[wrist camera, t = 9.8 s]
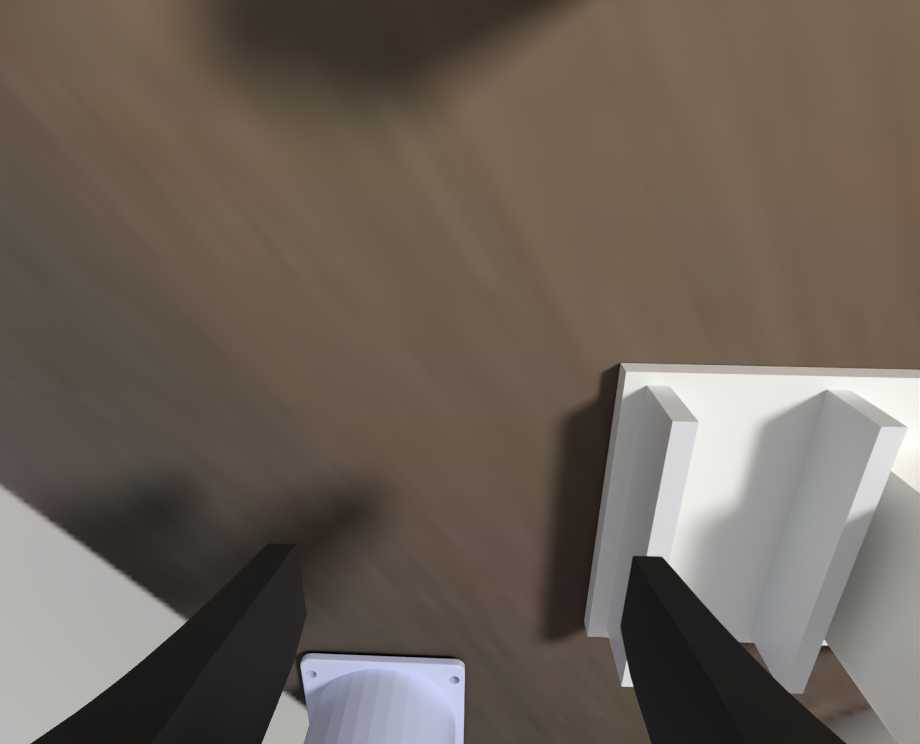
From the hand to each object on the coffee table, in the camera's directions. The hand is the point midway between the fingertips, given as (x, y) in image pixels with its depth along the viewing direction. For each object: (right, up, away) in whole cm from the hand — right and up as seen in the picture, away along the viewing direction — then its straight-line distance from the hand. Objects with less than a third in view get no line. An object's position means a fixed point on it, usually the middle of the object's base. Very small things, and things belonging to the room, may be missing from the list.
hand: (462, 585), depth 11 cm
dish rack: (+13, -1, +10) cm, 17 cm away
